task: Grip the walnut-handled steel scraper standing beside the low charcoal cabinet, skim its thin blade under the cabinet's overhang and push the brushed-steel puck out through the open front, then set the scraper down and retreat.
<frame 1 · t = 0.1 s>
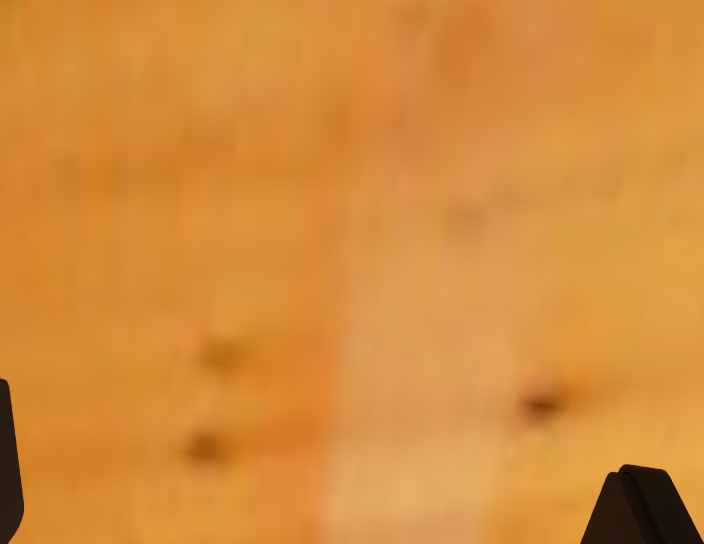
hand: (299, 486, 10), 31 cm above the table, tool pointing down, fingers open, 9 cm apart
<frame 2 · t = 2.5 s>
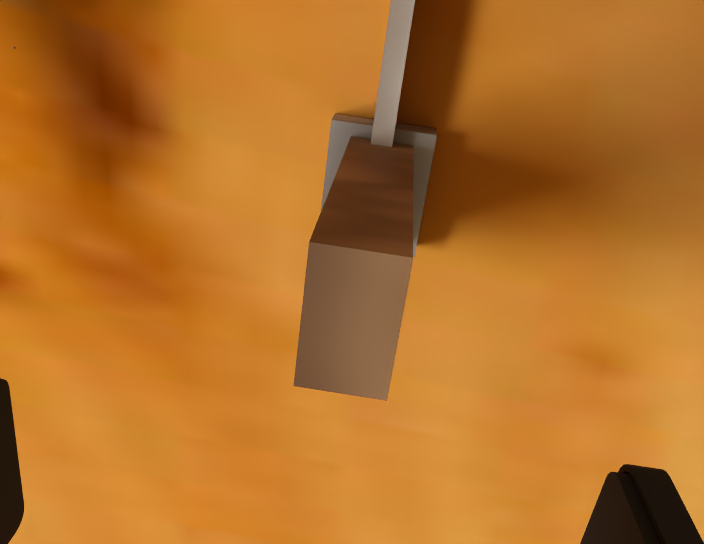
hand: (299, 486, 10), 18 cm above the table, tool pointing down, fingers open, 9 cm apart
scraper: (376, 181, 27), on the table
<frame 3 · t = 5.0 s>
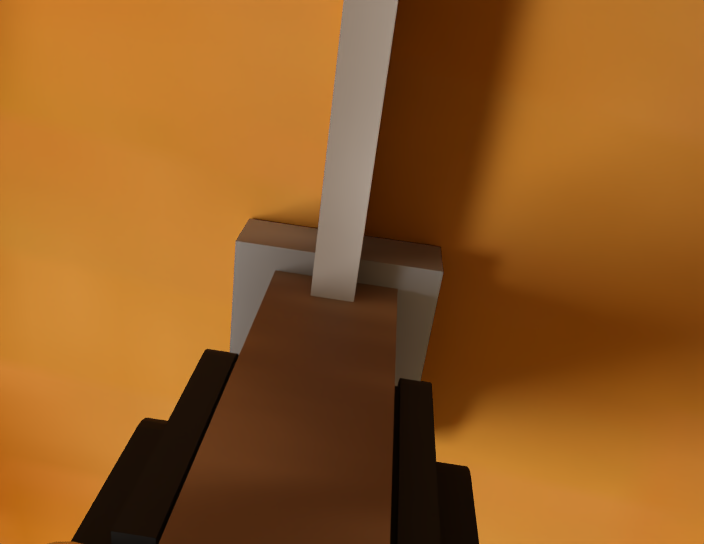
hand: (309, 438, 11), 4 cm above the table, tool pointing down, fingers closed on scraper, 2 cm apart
scraper: (331, 335, 15), on the table, touching gripper
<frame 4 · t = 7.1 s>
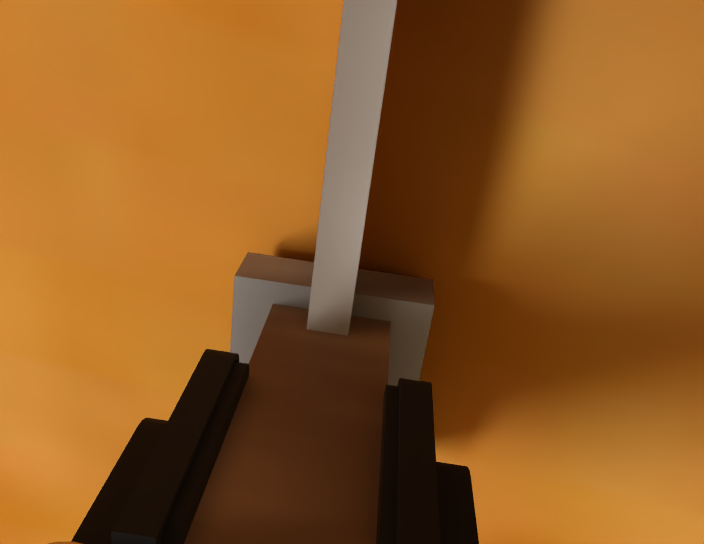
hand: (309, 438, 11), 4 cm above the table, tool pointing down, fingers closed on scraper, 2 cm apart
scraper: (327, 363, 15), on the table, touching gripper
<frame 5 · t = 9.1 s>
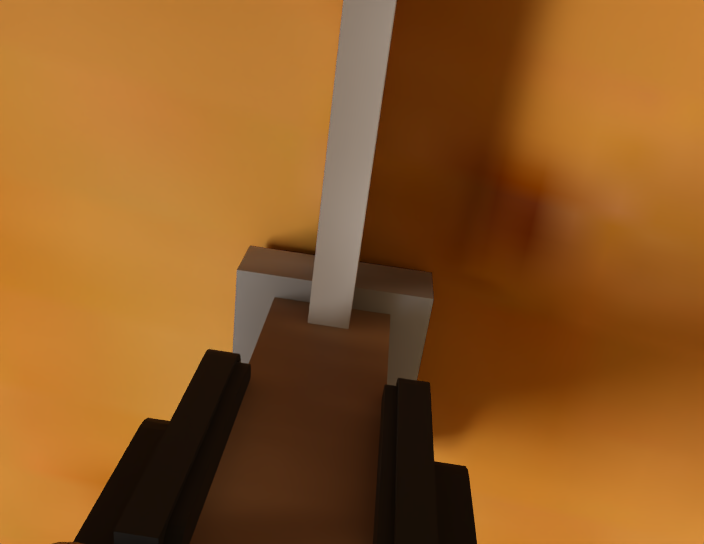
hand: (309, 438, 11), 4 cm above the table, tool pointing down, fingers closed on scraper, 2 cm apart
scraper: (328, 354, 15), on the table, touching gripper
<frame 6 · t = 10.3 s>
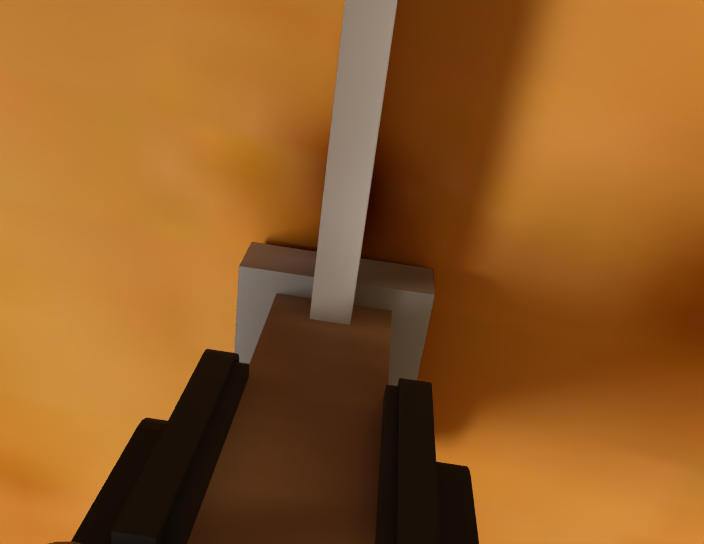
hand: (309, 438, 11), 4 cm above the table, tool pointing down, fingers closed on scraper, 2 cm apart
scraper: (329, 350, 15), on the table, touching gripper
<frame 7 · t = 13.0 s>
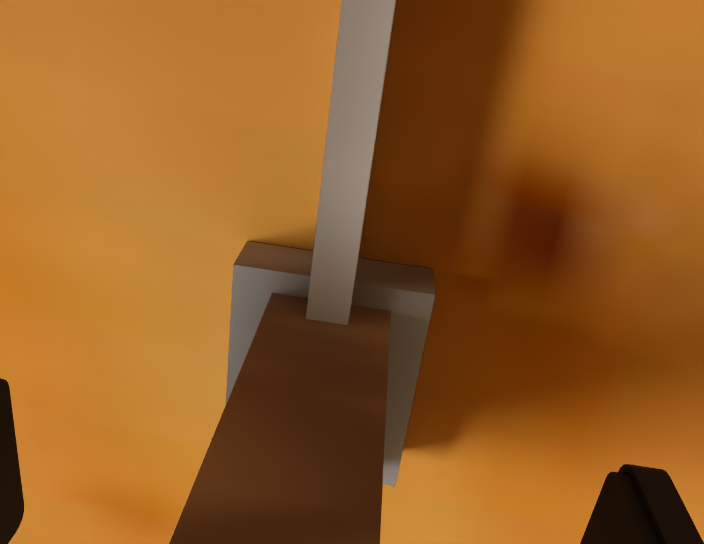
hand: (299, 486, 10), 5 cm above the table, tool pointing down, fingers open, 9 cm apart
scraper: (326, 353, 15), on the table
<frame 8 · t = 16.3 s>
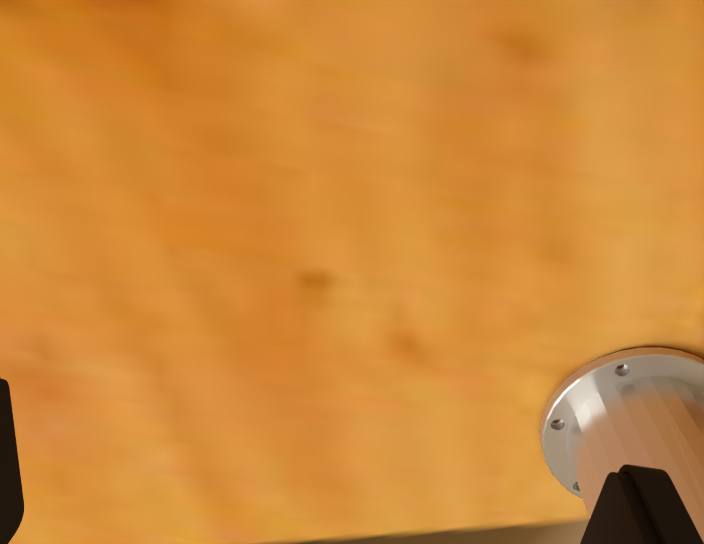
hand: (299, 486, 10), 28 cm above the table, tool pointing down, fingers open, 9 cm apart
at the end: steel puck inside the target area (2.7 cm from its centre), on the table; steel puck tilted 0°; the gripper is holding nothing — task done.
